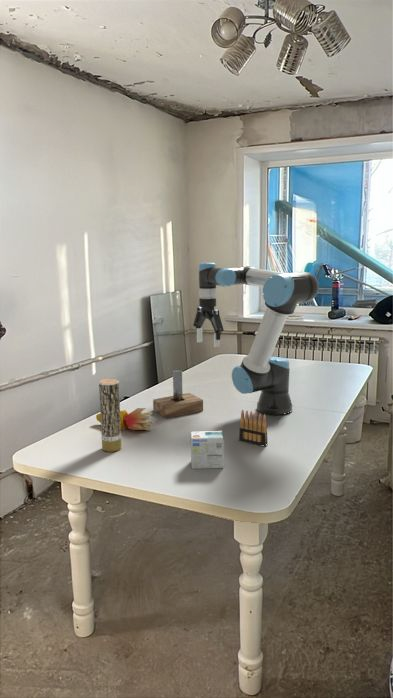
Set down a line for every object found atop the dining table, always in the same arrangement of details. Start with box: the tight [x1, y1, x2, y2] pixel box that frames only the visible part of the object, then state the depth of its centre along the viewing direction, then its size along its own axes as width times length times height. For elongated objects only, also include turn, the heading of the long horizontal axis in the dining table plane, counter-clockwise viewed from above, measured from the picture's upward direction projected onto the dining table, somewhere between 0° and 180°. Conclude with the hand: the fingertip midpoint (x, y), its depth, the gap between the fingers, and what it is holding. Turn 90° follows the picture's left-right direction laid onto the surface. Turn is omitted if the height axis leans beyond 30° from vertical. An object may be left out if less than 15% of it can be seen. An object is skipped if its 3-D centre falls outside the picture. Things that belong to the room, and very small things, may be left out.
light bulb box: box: [190, 430, 225, 470], centre depth 173 cm, size 11×7×11 cm, turn 92°
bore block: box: [152, 392, 204, 419], centre depth 227 cm, size 12×18×5 cm, turn 121°
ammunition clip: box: [238, 409, 268, 447], centre depth 191 cm, size 11×2×12 cm, turn 58°
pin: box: [172, 369, 184, 402], centre depth 226 cm, size 4×4×16 cm
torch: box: [95, 407, 156, 432], centre depth 207 cm, size 8×8×25 cm
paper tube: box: [98, 378, 122, 453], centre depth 185 cm, size 7×7×25 cm
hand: (208, 344), depth 239 cm, fingers open, 13 cm apart
